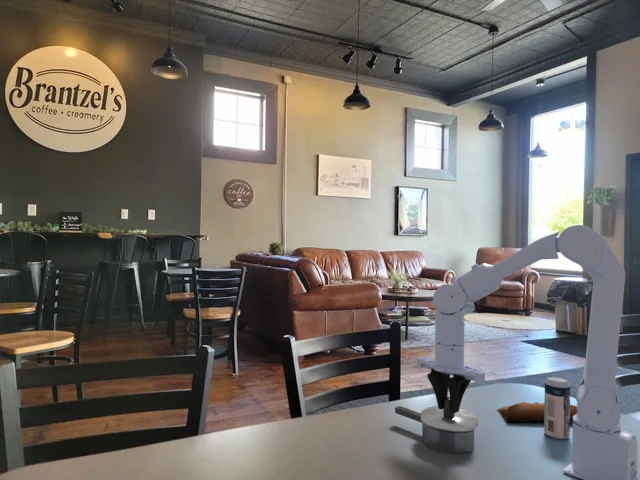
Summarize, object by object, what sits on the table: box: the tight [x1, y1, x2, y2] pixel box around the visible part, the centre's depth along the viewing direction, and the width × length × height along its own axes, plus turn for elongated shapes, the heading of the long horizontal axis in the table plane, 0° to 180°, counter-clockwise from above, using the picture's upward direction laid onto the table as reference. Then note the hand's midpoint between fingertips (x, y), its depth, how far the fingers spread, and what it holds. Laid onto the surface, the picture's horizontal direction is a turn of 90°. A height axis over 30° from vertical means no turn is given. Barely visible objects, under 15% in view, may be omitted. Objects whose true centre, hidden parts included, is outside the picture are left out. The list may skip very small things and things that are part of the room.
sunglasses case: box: [496, 401, 577, 423], centre depth 106 cm, size 18×7×7 cm, turn 89°
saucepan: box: [394, 405, 475, 455], centre depth 95 cm, size 18×10×4 cm, turn 42°
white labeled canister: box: [543, 376, 571, 440], centre depth 96 cm, size 5×5×12 cm
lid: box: [420, 396, 479, 432], centre depth 92 cm, size 11×11×4 cm
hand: (448, 410), depth 92 cm, fingers closed on lid, 2 cm apart
